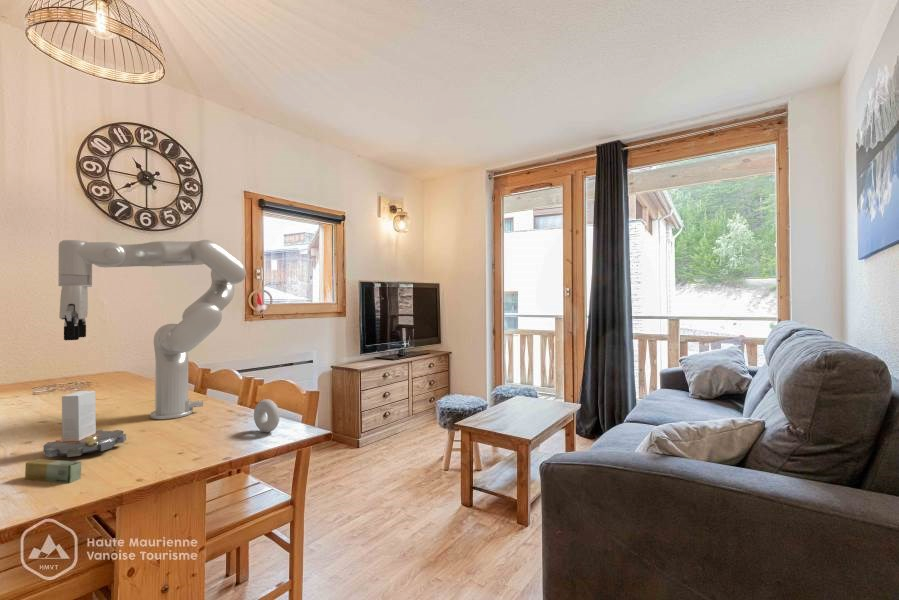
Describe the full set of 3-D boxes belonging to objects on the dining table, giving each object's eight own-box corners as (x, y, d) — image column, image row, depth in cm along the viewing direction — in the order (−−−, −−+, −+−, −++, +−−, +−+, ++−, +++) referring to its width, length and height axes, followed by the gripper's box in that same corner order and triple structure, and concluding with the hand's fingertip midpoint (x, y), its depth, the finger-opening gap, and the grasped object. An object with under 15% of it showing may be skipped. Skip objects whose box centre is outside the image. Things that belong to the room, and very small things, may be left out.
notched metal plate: (101, 432, 120) (101, 420, 120) (140, 439, 114) (140, 426, 114) (28, 452, 105) (28, 437, 105) (68, 461, 99) (68, 446, 99)
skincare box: (79, 434, 113) (79, 390, 113) (96, 433, 114) (96, 390, 114) (60, 441, 107) (61, 395, 107) (78, 441, 108) (78, 395, 108)
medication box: (82, 479, 93) (82, 461, 93) (69, 484, 90) (70, 465, 90) (37, 475, 95) (37, 458, 95) (23, 480, 92) (24, 462, 92)
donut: (282, 433, 125) (282, 400, 125) (272, 436, 122) (272, 402, 122) (261, 427, 130) (261, 396, 130) (251, 430, 127) (251, 398, 127)
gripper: (66, 282, 129) (65, 336, 129) (50, 280, 115) (50, 341, 115) (97, 282, 133) (97, 335, 133) (85, 281, 119) (85, 340, 119)
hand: (75, 338), depth 124 cm, fingers open, 9 cm apart
